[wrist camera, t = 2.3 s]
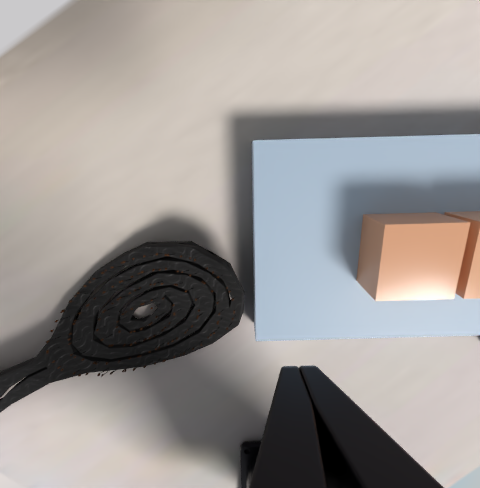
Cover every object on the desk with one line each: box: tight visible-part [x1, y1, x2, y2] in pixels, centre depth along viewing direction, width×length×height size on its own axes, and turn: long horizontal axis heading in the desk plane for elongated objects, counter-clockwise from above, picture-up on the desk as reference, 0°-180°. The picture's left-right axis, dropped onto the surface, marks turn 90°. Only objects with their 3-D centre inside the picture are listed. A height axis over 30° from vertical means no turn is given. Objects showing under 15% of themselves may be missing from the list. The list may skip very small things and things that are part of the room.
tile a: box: [356, 212, 471, 301], centre depth 15 cm, size 4×4×2 cm
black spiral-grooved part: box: [0, 241, 244, 412], centre depth 19 cm, size 8×4×25 cm
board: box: [252, 134, 480, 341], centre depth 17 cm, size 12×16×2 cm
